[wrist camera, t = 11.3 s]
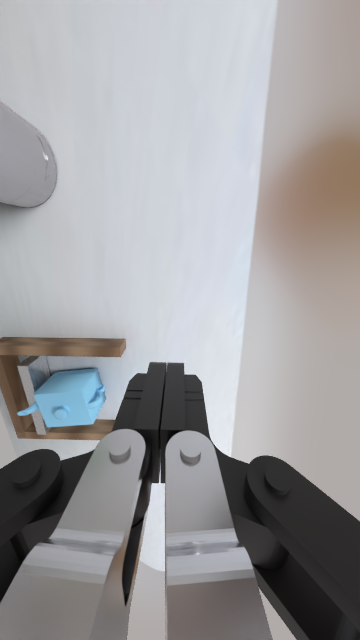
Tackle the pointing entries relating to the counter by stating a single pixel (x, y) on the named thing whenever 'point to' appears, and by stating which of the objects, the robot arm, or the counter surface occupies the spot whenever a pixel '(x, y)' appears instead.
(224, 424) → the counter surface
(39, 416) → the stop plate
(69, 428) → the bracket
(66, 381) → the teapot
